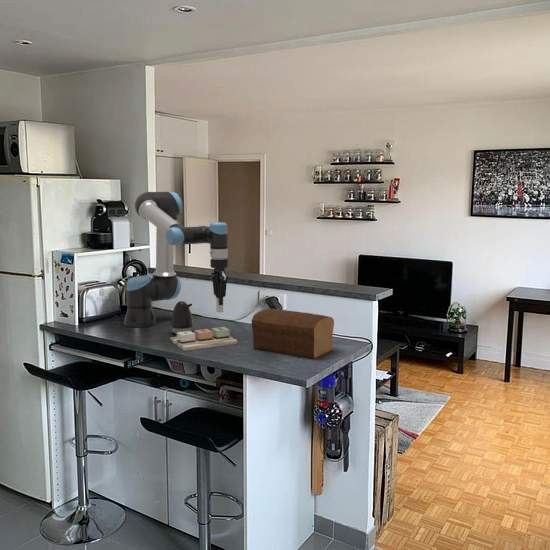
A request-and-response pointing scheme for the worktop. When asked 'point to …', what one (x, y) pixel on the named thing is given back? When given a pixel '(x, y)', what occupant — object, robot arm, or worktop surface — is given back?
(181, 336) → the tile one
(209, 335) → the tile two
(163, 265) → the robot arm
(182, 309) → the pump dispenser
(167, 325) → the worktop surface
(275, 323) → the bread
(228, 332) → the tile three
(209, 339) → the board
